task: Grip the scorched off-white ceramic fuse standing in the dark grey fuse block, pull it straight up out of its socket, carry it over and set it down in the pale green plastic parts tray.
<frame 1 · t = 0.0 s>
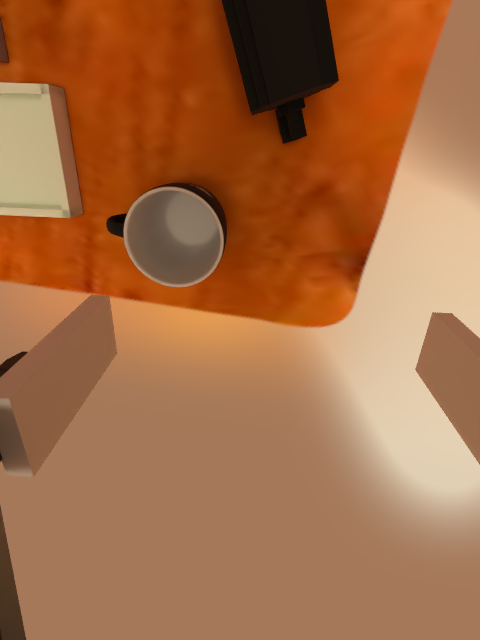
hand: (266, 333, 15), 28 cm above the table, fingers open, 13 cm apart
security camera: (270, 32, 33), on the table
parts tray: (18, 152, 39), on the table
mug: (179, 216, 41), on the table
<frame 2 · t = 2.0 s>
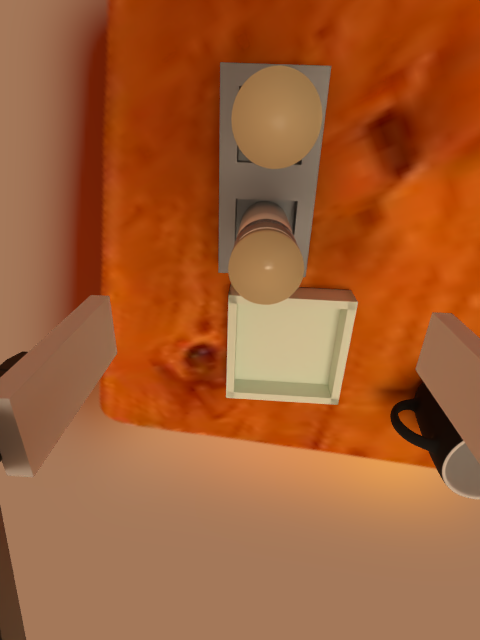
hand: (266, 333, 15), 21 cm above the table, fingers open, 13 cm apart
parts tray: (285, 338, 39), on the table
fuse block: (267, 179, 32), on the table
mug: (429, 392, 41), on the table
blown fuse: (264, 226, 33), point 1 cm above the table, touching fuse block
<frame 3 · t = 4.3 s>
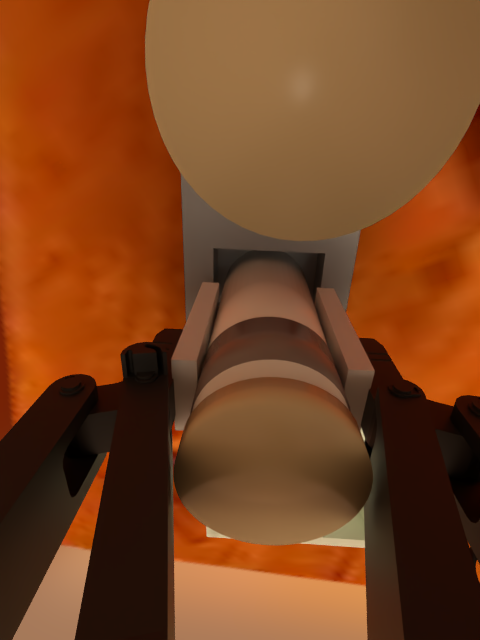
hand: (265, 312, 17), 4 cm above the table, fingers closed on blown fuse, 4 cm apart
parts tray: (296, 447, 25), on the table
fuse block: (270, 210, 18), on the table
blown fuse: (265, 287, 20), point 1 cm above the table, touching fuse block, gripper
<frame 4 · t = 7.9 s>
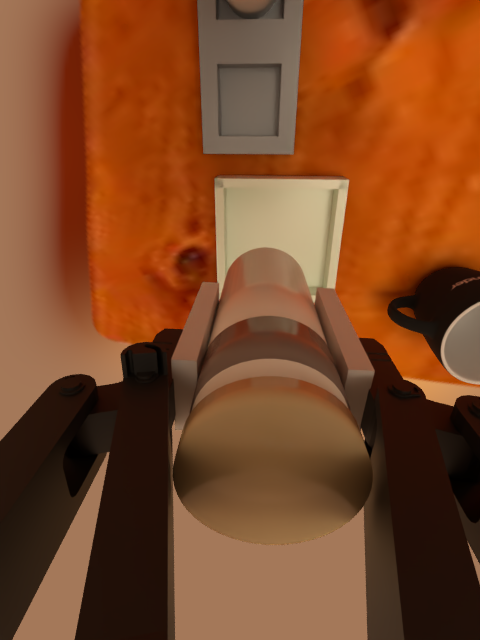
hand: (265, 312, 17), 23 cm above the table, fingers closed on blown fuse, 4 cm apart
parts tray: (276, 237, 38), on the table
fuse block: (250, 48, 31), on the table
mug: (429, 293, 40), on the table
blown fuse: (264, 287, 20), point 19 cm above the table, touching gripper
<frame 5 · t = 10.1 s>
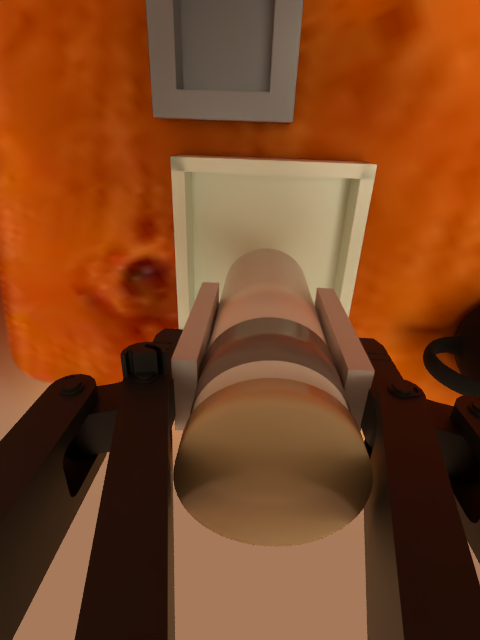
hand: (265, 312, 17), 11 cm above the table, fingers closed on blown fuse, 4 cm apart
parts tray: (265, 247, 26), on the table
mug: (474, 331, 29), on the table
blown fuse: (265, 288, 20), point 8 cm above the table, touching gripper
when the fingers open (5 cm above the table, at t = 11.9 s): blown fuse drops 1 cm, resting on parts tray.
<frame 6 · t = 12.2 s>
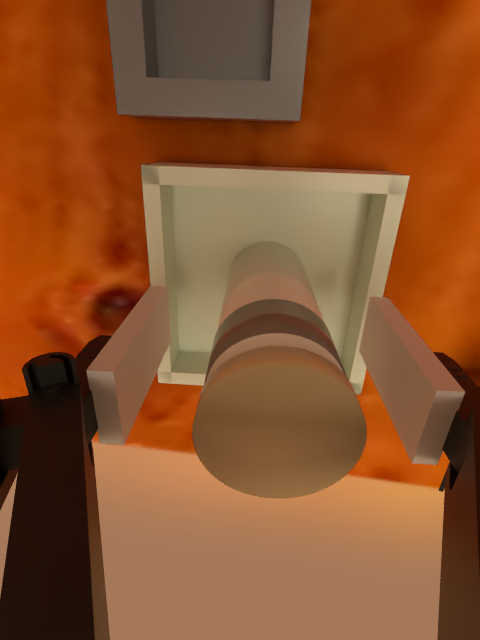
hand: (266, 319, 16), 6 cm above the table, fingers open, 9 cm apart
parts tray: (264, 275, 21), on the table
blown fuse: (266, 279, 21), point 1 cm above the table, touching parts tray
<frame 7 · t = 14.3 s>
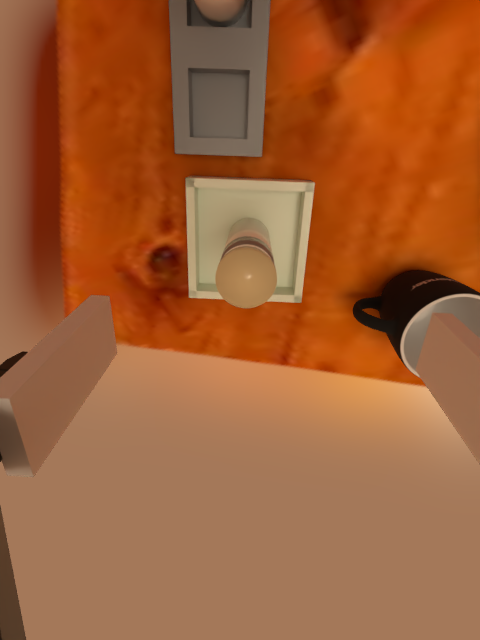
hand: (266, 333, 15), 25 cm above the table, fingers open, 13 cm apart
parts tray: (247, 237, 39), on the table
fuse block: (221, 55, 32), on the table
mug: (394, 296, 41), on the table
blown fuse: (248, 239, 38), point 1 cm above the table, touching parts tray
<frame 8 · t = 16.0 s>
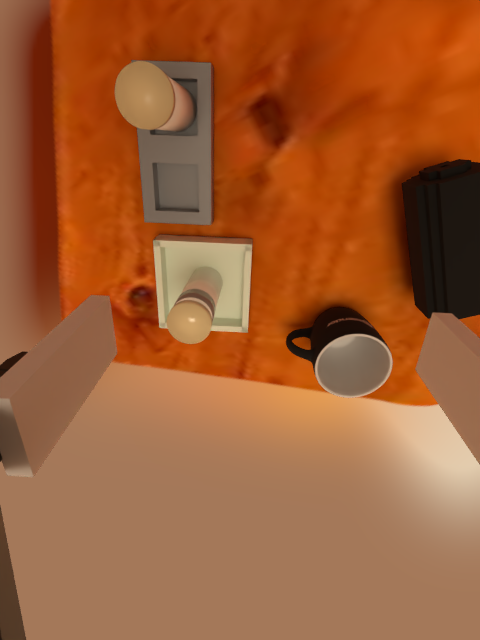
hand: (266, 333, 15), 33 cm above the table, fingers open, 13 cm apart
security camera: (424, 239, 45), on the table
parts tray: (206, 280, 49), on the table
fuse block: (179, 149, 42), on the table
mug: (325, 325, 51), on the table
blown fuse: (206, 282, 48), point 1 cm above the table, touching parts tray
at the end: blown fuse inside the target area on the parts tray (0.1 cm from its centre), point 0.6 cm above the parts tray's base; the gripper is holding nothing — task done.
